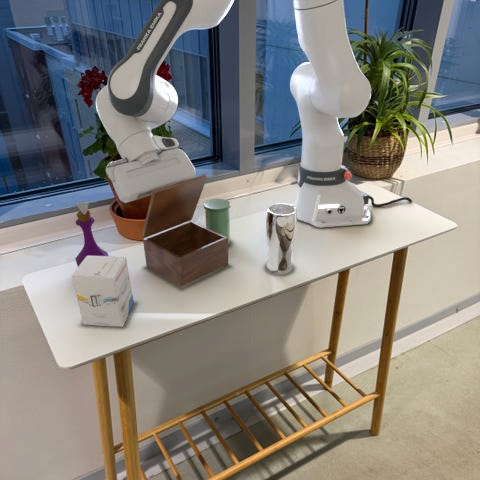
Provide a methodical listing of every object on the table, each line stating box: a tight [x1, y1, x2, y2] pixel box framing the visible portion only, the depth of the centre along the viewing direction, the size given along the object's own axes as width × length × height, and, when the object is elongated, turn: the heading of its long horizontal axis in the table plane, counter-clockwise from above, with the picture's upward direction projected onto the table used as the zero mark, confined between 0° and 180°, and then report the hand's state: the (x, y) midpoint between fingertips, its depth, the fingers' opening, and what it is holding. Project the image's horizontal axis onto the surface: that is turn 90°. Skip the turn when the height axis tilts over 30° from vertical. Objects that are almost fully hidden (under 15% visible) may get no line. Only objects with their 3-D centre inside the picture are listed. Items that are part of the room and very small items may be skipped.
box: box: [142, 220, 229, 287], centre depth 114 cm, size 13×14×8 cm
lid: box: [141, 173, 208, 239], centre depth 110 cm, size 14×14×1 cm
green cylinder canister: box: [203, 198, 231, 245], centre depth 123 cm, size 7×7×11 cm
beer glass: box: [265, 203, 298, 276], centre depth 112 cm, size 7×7×15 cm
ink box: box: [71, 255, 135, 328], centre depth 97 cm, size 9×8×12 cm
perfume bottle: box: [74, 201, 110, 267], centre depth 109 cm, size 8×8×18 cm
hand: (171, 206), depth 111 cm, fingers closed
